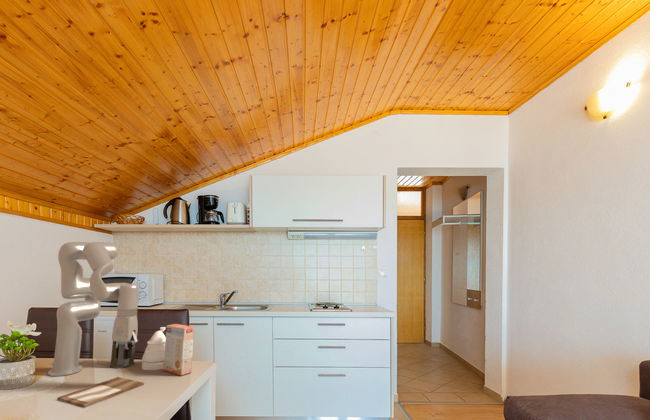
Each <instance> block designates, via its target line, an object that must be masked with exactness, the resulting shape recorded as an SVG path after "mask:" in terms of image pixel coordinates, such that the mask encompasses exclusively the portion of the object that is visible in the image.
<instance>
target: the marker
mask: <svg viewBox="0 0 650 420" xmlns="http://www.w3.org/2000/svg"><path fill="white" fill-rule="evenodd" d="M129 344H130V342H129V343H128V345H129ZM124 349H125V342H119V353H118V364H117V367H124V368H126V367H125V366H128V365H129V358H128V359H123V358H124Z"/></svg>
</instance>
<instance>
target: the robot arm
mask: <svg viewBox="0 0 650 420" xmlns="http://www.w3.org/2000/svg"><path fill="white" fill-rule="evenodd" d="M118 254H119V248H118V246H117V245H116V244H115V243H112V242H106V241H105V242H100V241H90V242H88V241H87V242H86V241H70V242H66V243H63V244H62V245H61V246H60V248H59V250H58V255H57V256H58V257H57V258H58V263H59V267H60V295H61V297H62V298H63V299H67V300H73V299H74V300H75V299H84V300H77V301H68V302H65V303H63V304H61V305H60V306H59V307H58V308H57V310H56V320H57V321H56V324H57V328H56V329H57V330H56V339H55V341H56V342H55V349H54V357H53V362H51V364H50V365H51V366H52V369H49V370H48V373H47V374H48V376H50V377H51V376H52V377H63V376H69V375H73V374H77V373H79V372H81V371H82V370H83V366H82V365H81V364H79V363H80V355H81V347H82V338H83V336H82V335H83V330H82V327H81V326H80V324H79V322H82V321H83V322H84V321H89V320H94V319H96V318H98V316H99V315H100V313H101V302H102V303H103V302H112V301H117V309H116V311H117V313H116V317H115V319H114V321H113V328H112V333H111V340H112V342H113V341H114V342H115V344H116V348H117V349H116V358H118V353H119V342H125V349H124V358H123V359H128V358H131V355H132V348H133V346H134V345H135V346H136V344H137V343H138V342H139V340H138V331H139V329H138V327H139V325H138V306H139V296H140V295H139V292H140V291H139V290H140V286H139V284H137V283H128V282H112V283H105V282H104V281H103V279H102V278H103V277H104V276H106V275H108V274H110V273H111V272H112V271H113V270H114V268H115V263H114V262H113V260H114V259H116V258H117V257H118ZM78 260H84V261H85V260H86V262H87V264H89V267H90V269H91V270H92V273H91V276H90V277H86V278H85V277H84V269H83V267H82V265H81V263H80V262H79V261H78ZM129 342H130V344H129V345H128V343H129Z"/></svg>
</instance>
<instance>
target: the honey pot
mask: <svg viewBox="0 0 650 420" xmlns="http://www.w3.org/2000/svg"><path fill="white" fill-rule="evenodd" d="M166 327H167V326H161V327H159V329H160V330H156V331H155V332H154V333H153V335H151V337H150V339H149V340H148V341H147V342H146V344H147V346H146V348H145V349H144V350H145V351H144V353H143V355H142V358H141V369H142V370H145V371H158V370H163V365H164V353H165V340H166V334H164V331H166Z"/></svg>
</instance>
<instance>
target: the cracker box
mask: <svg viewBox="0 0 650 420" xmlns="http://www.w3.org/2000/svg"><path fill="white" fill-rule="evenodd" d="M165 327H166V329H165V337H166V340H165V353H164V365H163V369H162V371H165V372H167V373H170V374H175V375H177V376H184V375H188V374H192V367H193V353H194V352H193V350H194V337H195V335H194V334H195V326H192V325H186V324H185V325H184V324H180V323H173V324H168V325H166V326H165Z"/></svg>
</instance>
